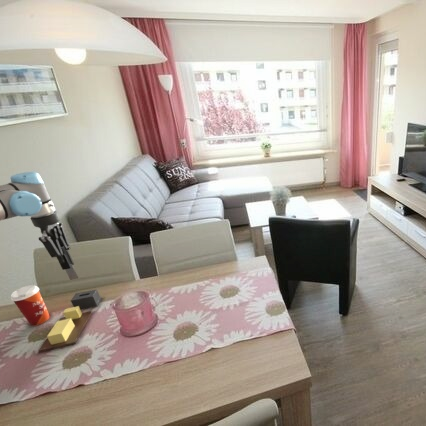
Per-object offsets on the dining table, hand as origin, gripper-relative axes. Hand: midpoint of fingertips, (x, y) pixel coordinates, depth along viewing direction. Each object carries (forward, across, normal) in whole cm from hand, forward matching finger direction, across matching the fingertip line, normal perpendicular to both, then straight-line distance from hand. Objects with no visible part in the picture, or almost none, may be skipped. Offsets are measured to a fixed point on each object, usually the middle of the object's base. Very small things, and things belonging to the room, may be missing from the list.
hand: (68, 266), depth 118 cm
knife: (+6, 0, 0) cm, 6 cm away
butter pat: (+20, -7, +2) cm, 21 cm away
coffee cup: (+21, -3, +16) cm, 26 cm away
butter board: (+21, -14, +2) cm, 25 cm away
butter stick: (+20, -17, +2) cm, 26 cm away
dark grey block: (+21, +1, 0) cm, 21 cm away
